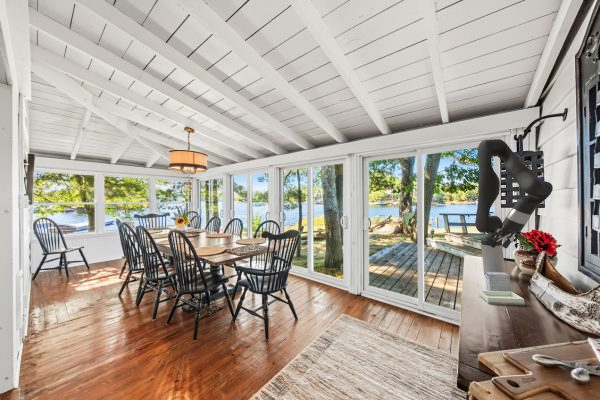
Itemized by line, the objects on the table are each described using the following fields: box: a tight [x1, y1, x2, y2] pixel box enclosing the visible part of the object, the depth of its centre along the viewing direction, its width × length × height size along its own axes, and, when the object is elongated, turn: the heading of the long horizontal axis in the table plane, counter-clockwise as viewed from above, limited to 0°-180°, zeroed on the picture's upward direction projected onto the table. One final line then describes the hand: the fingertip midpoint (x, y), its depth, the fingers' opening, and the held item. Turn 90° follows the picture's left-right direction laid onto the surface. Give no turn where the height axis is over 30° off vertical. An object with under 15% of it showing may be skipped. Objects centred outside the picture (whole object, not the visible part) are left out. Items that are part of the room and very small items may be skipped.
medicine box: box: [484, 272, 512, 292], centre depth 107 cm, size 8×4×9 cm, turn 71°
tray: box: [478, 290, 525, 306], centre depth 99 cm, size 8×12×2 cm
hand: (497, 247), depth 117 cm, fingers open, 8 cm apart
